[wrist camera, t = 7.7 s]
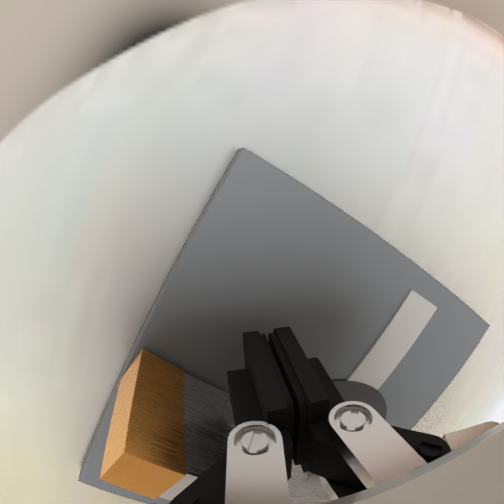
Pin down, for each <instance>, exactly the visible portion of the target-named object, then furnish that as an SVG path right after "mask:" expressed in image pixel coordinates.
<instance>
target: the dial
mask: <svg viewBox="0 0 504 504" xmlns="http://www.w3.org/2000/svg"><path fill="white" fill-rule="evenodd" d="M234 428H235V423H234V418H233V412H232V407H231V401H230V394H228V393H226V392H224V391H222V390H220V389H217V388H215V387H213V386H211V385H209V384H207V383H205V382H203V381H201V380H199V379H197V378H195V377H193V376H191V375H189V374H187V373H185V372H184V370H182V369H180V368H178V367H176V366H174V365H172V364H170V363H168V362H167V361H165V360H163V359H161V358H159V357H157V356H156V355H154V354H152V353H150V352H149V351H147V350H145V349H142V350H141V352H140V353H139V354H138V356H137V357H136V359H135V360H134V361H133V363H132V364H131V366H130V367H129V369H128V370H127V371H126V373H125V374H124V376H123V377H122V379H121V381H120V385H119V389H118V393H117V397H116V402H115V406H114V410H113V415H112V419H111V424H110V428H109V433H108V438H107V442H106V447H105V453H104V458H103V463H102V469H101V474H100V479H101V480H104V481H106V482H109V483H111V484H114V485H116V486H119V487H121V488H124V489H127V490H129V491H132V492H135V493H138V494H141V495H144V496H146V497H150V498H153V499H156V498H157V497H160V498H163V499H166V500H170V501H172V500H173V499H174V497H176V496H177V495H178V494H179V493H180V492H182V491H183V490H184V489H185V488H186V487H187V486H189V485H190V484H191V483H192V482H193V481H194V480H196V479H197V478H198V477H199V476H200V475H201V474H202V473H204V472H205V471H206V470H207V469H208V468H209V467H210V466H211V465H212V464H213V463H215V462H216V461H217V460H218V459H219V458H220V457H221V456H222V455H223V454H224V453H225V452H226V451H227V444H228V437H229V434H230V433H231V431H232V430H233V429H234ZM288 490H289V498H290V504H321V503H325V502H329V501H332V499H331V498H330V496H329V495H328V493H327V492H326V490H325V489H324V487H323V486H322V484H321V482H320V480H319V476H318V475H315V474H313V473H310V471H308V472H304V473H303V470H302V468H301V465H295V464H294V462H293V459H292V472H291V478H290V479H289V481H288Z"/></svg>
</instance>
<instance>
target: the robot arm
mask: <svg viewBox="0 0 504 504" xmlns="http://www.w3.org/2000/svg"><path fill="white" fill-rule="evenodd" d="M243 347H244V360H245V369H240V370H232V371H227V379H228V387H229V394H230V401H231V407H232V412H233V418H234V423H235V428H234V429H233V430H232V431H231V433H230V434H229V437H228V444H227V451H226V452H225V453H224V454H223V455H222V456H221V457H220V458H219V459H218V460H217V461H216V462H215V463H213V464H212V465H211V466H210V467H209V468H208V469H207V470H206V471H205V472H204V473H202V474H201V475H200V476H199V477H198V478H197V479H196V480H194V481H193V482H192V483H191V484H190V485H189V486H187V487H186V488H185V489H184V490H183V491H182V492H180V493H179V494H178V495H177V496H176V497H174V499H173V500H172V501H171V502H170V503H167V504H290V498H289V490H288V481H289V479H290V478H291V472H292V459H293V462H294V464H295V465H301V468H302V470H303V473H304V472H308V471H310V473H313V474H315V475H318V476H319V480H320V482H321V484H322V486H323V487H324V489H325V490H326V492H327V493H328V495H329V496H330V498H331V499H332V501H329V502H325V503H321V504H504V422H502V423H500V424H499V423H497V422H492V421H491V422H485V423H482V424H479V425H476V426H473V427H469V428H466V429H462V430H459V431H455V432H452V433H448V434H444V436H443V438H440V437H438V436H435V435H431V434H426V433H421V432H417V431H412V430H408V429H404V428H400V427H396V426H392V425H389V424H388V423H387V422H386V421H385V420H384V419H383V418H382V417H381V416H380V415H379V414H378V413H377V412H376V411H375V409H374V408H372V407H371V406H370V405H368V404H365V403H363V402H358V401H347V402H345V401H344V400H343V398H342V396H341V395H340V393H339V391H338V390H337V388H336V387H335V385H334V383H333V382H332V380H331V378H330V377H329V375H328V373H327V372H326V370H325V369H324V367H323V365H322V364H321V362H320V360H319V359H318V358H317V357H314V358H309V359H308V358H307V356H306V355H305V353H304V351H303V349H302V348H301V346H300V344H299V342H298V340H297V339H296V337H295V335H294V333H293V332H292V330H291V328H290V327H289V326H287V327H281V328H274V329H273V333H269V334H268V340H267V338H266V335H265V334H260V333H259V331H252V332H244V333H243ZM152 504H157V503H152Z"/></svg>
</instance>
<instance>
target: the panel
mask: <svg viewBox="0 0 504 504" xmlns="http://www.w3.org/2000/svg"><path fill="white" fill-rule="evenodd" d="M287 326H289V327H290V328H291V330H292V332H293V333H294V335H295V337H296V339H297V340H298V342H299V344H300V346H301V348H302V349H303V351H304V353H305V355H306V356H307V358H308V359H309V358H314V357H317V358H318V359H319V360H320V362H321V364H322V365H323V367H324V369H325V370H326V372H327V373H328V375H329V377H330V378H331V380H332V382H333V383H334V385H335V387H336V388H337V390H338V391H339V393H340V395H341V396H342V398H343V400H344V401H345V402H347V401H358V402H363V403H365V404H368V405H370V406H371V407H372V408H374V409H375V411H376V412H377V413H378V414H379V415H380V416H381V417H382V418H383V419H384V420H385V421H386V422H387V423H388V424H389V425H392V426H396V427H400V428H404V429H408V430H411V429H412V428H413V427H414V426H415V425H416V423H417V422H418V421H419V420H420V419H421V418H422V417H423V416H424V414H425V413H426V412H427V411H428V410H429V409H430V408H431V406H432V405H433V404H434V403H435V402H436V400H437V399H438V398H439V397H440V395H441V394H442V393H443V392H444V390H445V389H446V388H447V387H448V385H449V384H450V383H451V381H452V380H453V379H454V377H455V376H456V375H457V373H458V372H459V371H460V369H461V368H462V367H463V365H464V364H465V362H466V361H467V359H468V358H469V357H470V355H471V354H472V352H473V351H474V349H475V348H476V346H477V345H478V343H479V342H480V340H481V339H482V337H483V335H484V334H485V332H486V331H487V329H488V327H489V326H490V325H489V324H488V323H487V322H486V321H484V320H483V319H482V318H481V317H480V316H479V315H478V314H476V313H475V312H474V311H473V310H472V309H471V308H469V307H468V306H467V305H466V304H465V303H464V302H462V301H461V300H460V299H459V298H458V297H456V296H455V295H454V294H453V293H452V292H450V291H449V290H448V289H447V288H446V287H444V286H443V285H442V284H441V283H439V282H438V281H437V280H436V279H434V278H433V277H432V276H431V275H429V274H428V273H427V272H426V271H424V270H423V269H422V268H420V267H419V266H418V265H417V264H415V263H414V262H413V261H411V260H410V259H409V258H407V257H406V256H405V255H404V254H402V253H401V252H400V251H398V250H397V249H396V248H394V247H393V246H392V245H390V244H389V243H387V242H386V241H385V240H383V239H382V238H381V237H379V236H378V235H377V234H375V233H374V232H372V231H371V230H370V229H368V228H367V227H365V226H364V225H363V224H361V223H360V222H358V221H357V220H355V219H354V218H353V217H351V216H350V215H348V214H347V213H345V212H344V211H342V210H341V209H340V208H338V207H337V206H335V205H334V204H332V203H331V202H329V201H328V200H326V199H325V198H323V197H322V196H320V195H319V194H317V193H316V192H314V191H313V190H311V189H310V188H308V187H306V186H305V185H303V184H302V183H300V182H299V181H297V180H296V179H294V178H292V177H291V176H289V175H288V174H286V173H285V172H283V171H281V170H280V169H278V168H276V167H275V166H273V165H272V164H270V163H268V162H267V161H265V160H263V159H262V158H260V157H258V156H257V155H255V154H253V153H252V152H250V151H248V150H247V149H245V148H241V149H239V150H238V152H237V153H236V155H235V157H234V158H233V160H232V162H231V163H230V165H229V167H228V168H227V170H226V172H225V174H224V175H223V177H222V179H221V180H220V182H219V184H218V186H217V187H216V189H215V191H214V192H213V194H212V196H211V198H210V200H209V201H208V203H207V205H206V207H205V208H204V210H203V212H202V214H201V215H200V217H199V219H198V221H197V223H196V224H195V226H194V228H193V230H192V232H191V234H190V235H189V237H188V239H187V241H186V243H185V245H184V247H183V248H182V250H181V252H180V254H179V256H178V258H177V260H176V262H175V263H174V265H173V267H172V269H171V271H170V273H169V275H168V277H167V279H166V281H165V283H164V285H163V287H162V289H161V290H160V292H159V294H158V296H157V298H156V300H155V302H154V304H153V306H152V308H151V310H150V312H149V314H148V316H147V319H146V321H145V323H144V325H143V327H142V329H141V331H140V333H139V335H138V337H137V339H136V341H135V343H134V346H133V348H132V350H131V352H130V354H129V356H128V358H127V360H126V363H125V365H124V367H123V369H122V371H121V374H120V376H119V378H118V380H117V382H116V385H115V387H114V389H113V391H112V394H111V396H110V398H109V401H108V403H107V405H106V408H105V410H104V412H103V415H102V417H101V419H100V422H99V424H98V427H97V429H96V431H95V434H94V436H93V439H92V441H91V444H90V446H89V449H88V451H87V454H86V456H85V459H84V461H83V464H82V467H81V471H80V475H79V480H78V481H80V482H83V483H85V484H88V485H91V486H93V487H96V488H99V489H102V490H105V491H108V492H111V493H114V494H117V495H120V496H123V497H126V498H130V499H133V500H137V501H140V502H144V503H148V504H152V503H157V504H167V503H170V502H171V501H170V500H166V499H163V498H160V497H157V498H156V499H153V498H150V497H146V496H144V495H141V494H138V493H135V492H132V491H129V490H127V489H124V488H121V487H119V486H116V485H114V484H111V483H109V482H106V481H104V480H101V479H100V474H101V469H102V463H103V458H104V453H105V447H106V442H107V438H108V433H109V428H110V424H111V419H112V415H113V410H114V406H115V402H116V397H117V393H118V389H119V385H120V381H121V379H122V377H123V376H124V374H125V373H126V371H127V370H128V369H129V367H130V366H131V364H132V363H133V361H134V360H135V359H136V357H137V356H138V354H139V353H140V352H141V350H142V349H145V350H147V351H149V352H150V353H152V354H154V355H156V356H157V357H159V358H161V359H163V360H165V361H167V362H168V363H170V364H172V365H174V366H176V367H178V368H180V369H182V370H184V372H185V373H187V374H189V375H191V376H193V377H195V378H197V379H199V380H201V381H203V382H205V383H207V384H209V385H211V386H213V387H215V388H217V389H220V390H222V391H224V392H226V393H228V394H229V387H228V379H227V371H232V370H240V369H245V360H244V347H243V333H244V332H252V331H259V333H260V334H265V335H266V338H267V340H268V334H269V333H273V329H274V328H281V327H287Z"/></svg>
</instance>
